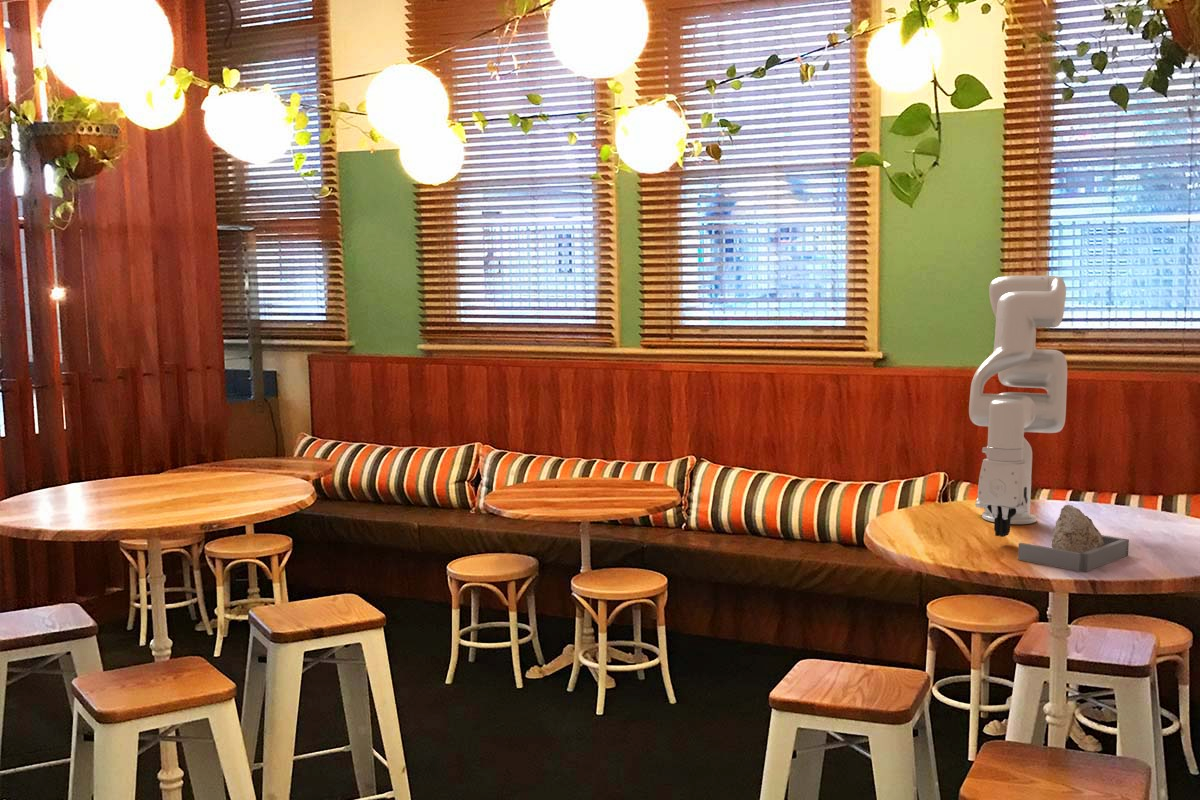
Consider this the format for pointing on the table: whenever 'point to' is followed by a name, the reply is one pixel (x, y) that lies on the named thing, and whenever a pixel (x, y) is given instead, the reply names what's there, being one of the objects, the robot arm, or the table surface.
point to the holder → (1075, 555)
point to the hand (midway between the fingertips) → (1001, 535)
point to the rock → (1075, 532)
